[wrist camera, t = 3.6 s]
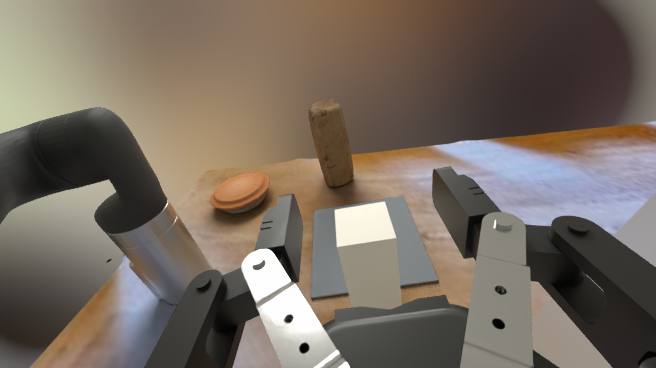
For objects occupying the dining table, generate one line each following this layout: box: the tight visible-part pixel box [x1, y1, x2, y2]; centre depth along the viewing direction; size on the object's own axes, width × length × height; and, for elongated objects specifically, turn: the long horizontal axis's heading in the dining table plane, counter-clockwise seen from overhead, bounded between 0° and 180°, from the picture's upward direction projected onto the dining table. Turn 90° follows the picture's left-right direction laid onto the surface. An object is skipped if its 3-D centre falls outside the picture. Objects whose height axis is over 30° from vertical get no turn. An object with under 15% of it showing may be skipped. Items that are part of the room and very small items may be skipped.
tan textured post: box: [308, 99, 354, 187], centre depth 67 cm, size 11×8×20 cm
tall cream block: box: [335, 201, 402, 309], centre depth 35 cm, size 6×6×18 cm
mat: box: [311, 196, 438, 299], centre depth 52 cm, size 20×22×1 cm
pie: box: [210, 173, 269, 214], centre depth 71 cm, size 15×16×5 cm
